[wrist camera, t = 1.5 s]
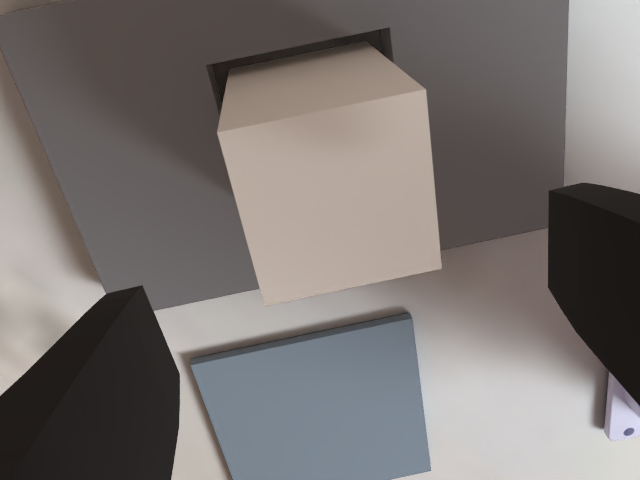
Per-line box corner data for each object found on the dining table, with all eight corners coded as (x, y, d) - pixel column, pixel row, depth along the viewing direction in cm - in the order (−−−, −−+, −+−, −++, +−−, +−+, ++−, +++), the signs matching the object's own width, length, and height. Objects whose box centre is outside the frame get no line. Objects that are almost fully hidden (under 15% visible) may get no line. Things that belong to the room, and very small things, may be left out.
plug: (365, 40, 18) (426, 88, 12) (382, 169, 20) (441, 269, 14) (229, 69, 18) (217, 132, 12) (260, 195, 20) (264, 306, 14)
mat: (409, 312, 23) (412, 318, 22) (428, 463, 27) (431, 470, 27) (191, 359, 23) (190, 365, 22) (244, 503, 27) (244, 511, 27)
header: (545, -97, 17) (571, -101, 15) (543, 207, 21) (562, 224, 20) (8, 12, 16) (-13, 18, 15) (125, 295, 21) (116, 318, 20)
